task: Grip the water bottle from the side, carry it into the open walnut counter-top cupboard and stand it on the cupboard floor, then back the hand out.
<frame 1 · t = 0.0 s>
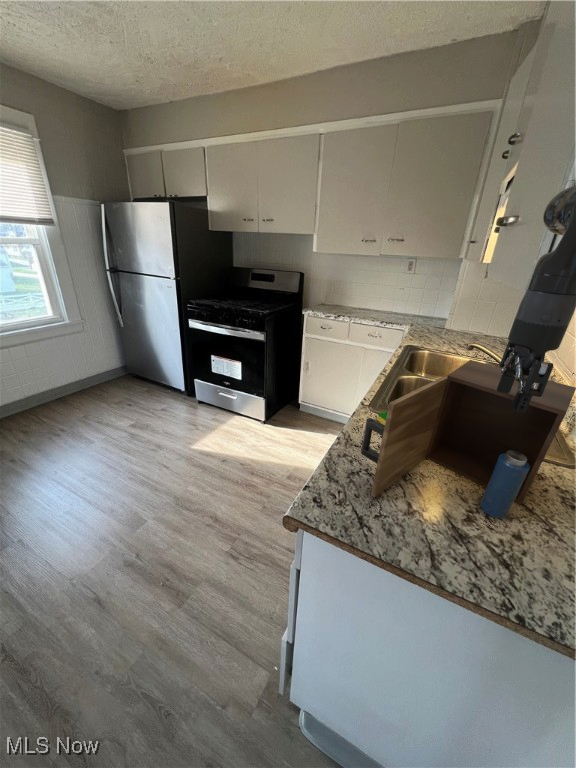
hand: (509, 401, 61), 25 cm above the counter, tool pointing down, fingers open, 8 cm apart
water bottle: (493, 509, 68), on the counter
cupboard: (478, 464, 81), on the counter
dish sponge: (400, 429, 95), on the counter
cupboard door: (398, 429, 73), point 12 cm above the counter, hinge at 95.0°
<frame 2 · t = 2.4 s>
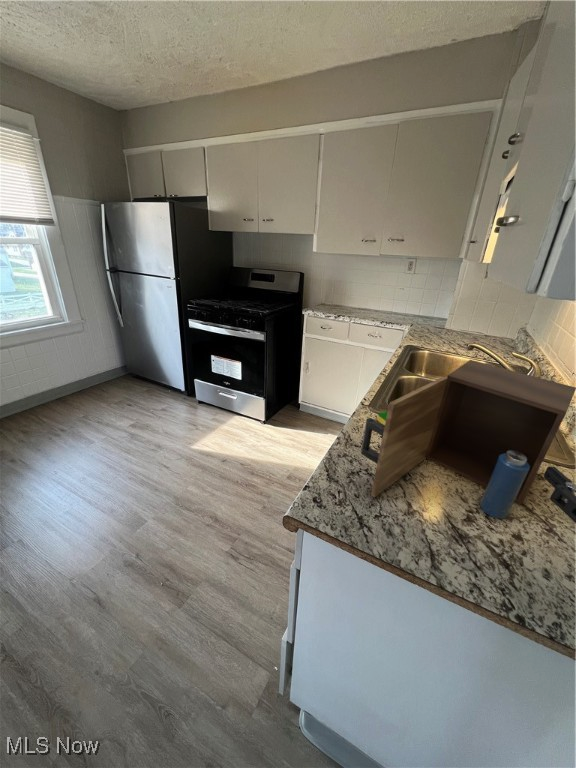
hand: (574, 471, 49), 20 cm above the counter, tool horizontal, fingers open, 8 cm apart
nothing on the counter moved.
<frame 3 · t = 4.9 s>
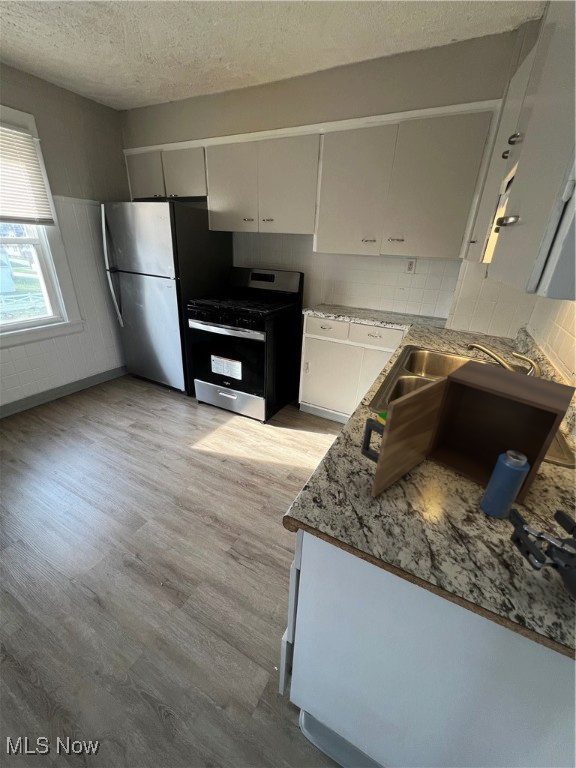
hand: (533, 512, 57), 8 cm above the counter, tool horizontal, fingers open, 8 cm apart
nothing on the counter moved.
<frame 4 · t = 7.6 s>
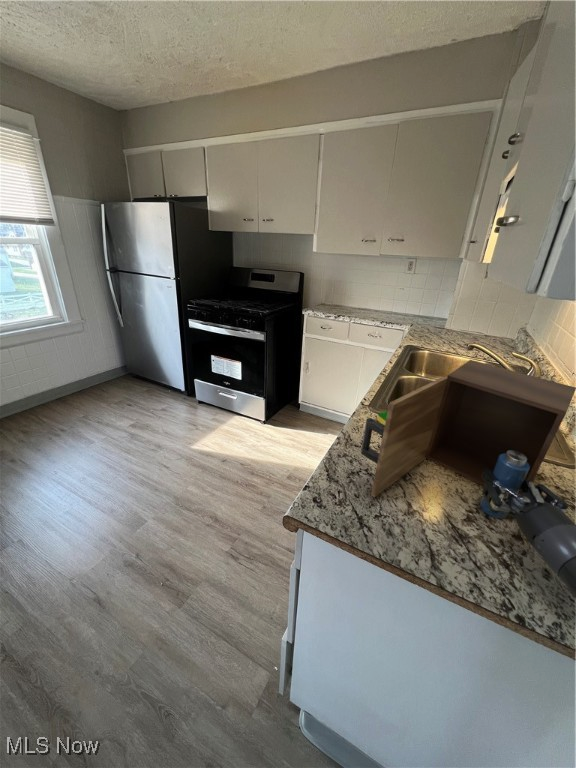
hand: (498, 472, 67), 8 cm above the counter, tool horizontal, fingers closed on water bottle, 5 cm apart
water bottle: (493, 509, 68), on the counter, touching gripper
everything else where it was.
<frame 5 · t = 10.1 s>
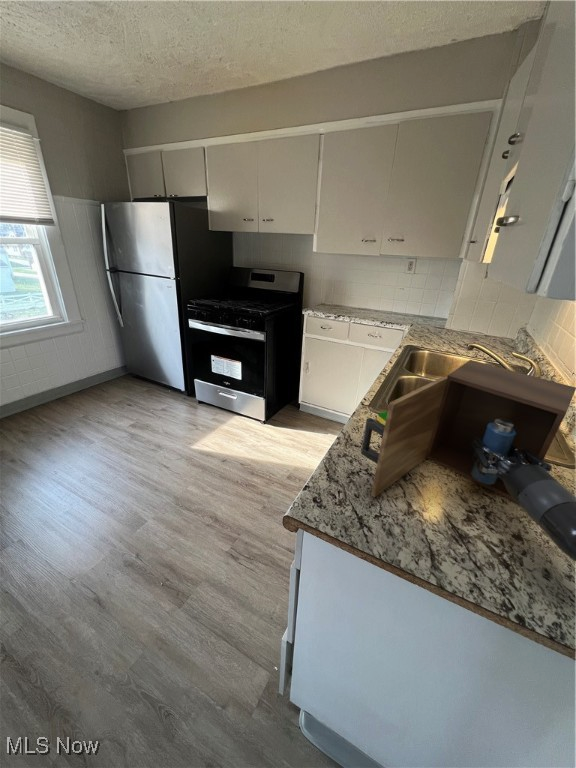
hand: (487, 441, 71), 12 cm above the counter, tool horizontal, fingers closed on water bottle, 5 cm apart
water bottle: (483, 476, 72), point 4 cm above the counter, touching gripper
everything else where it was.
when the fingers open (9 cm above the counter, at t = 12.7 s): water bottle stays where it is, resting on cupboard.
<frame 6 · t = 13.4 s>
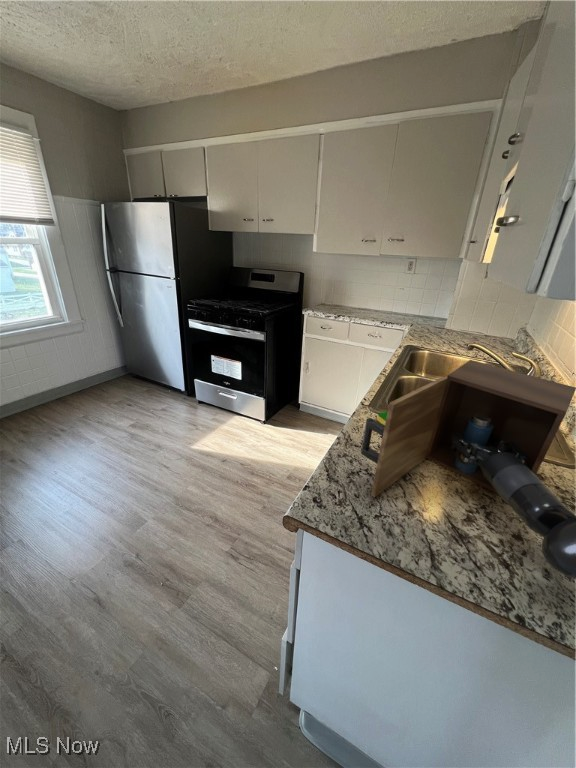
hand: (470, 434, 77), 9 cm above the counter, tool horizontal, fingers open, 8 cm apart
water bottle: (465, 466, 79), point 1 cm above the counter, touching cupboard
everything else where it was.
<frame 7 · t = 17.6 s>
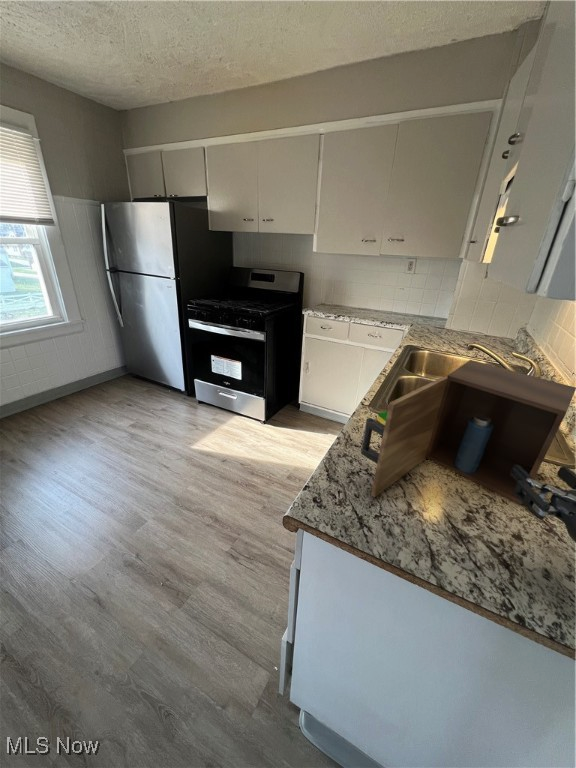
hand: (537, 469, 57), 15 cm above the counter, tool horizontal, fingers open, 8 cm apart
nothing on the counter moved.
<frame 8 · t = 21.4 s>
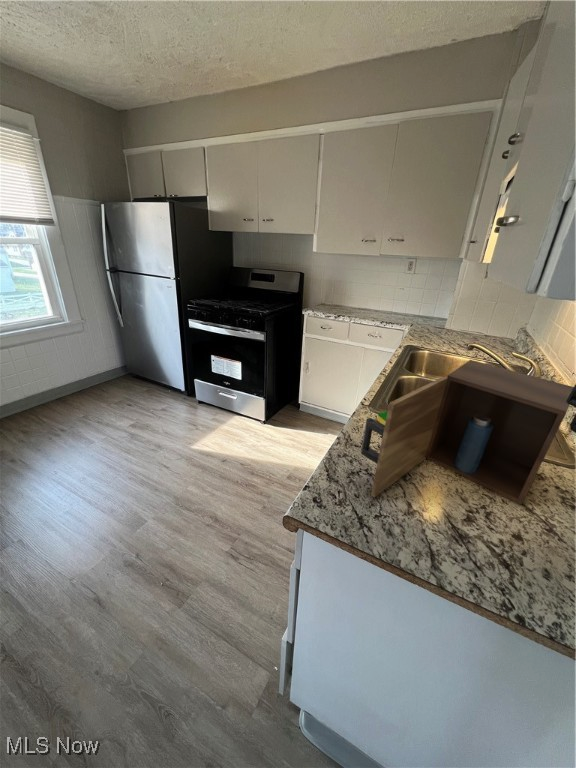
nothing on the counter moved.
at the end: water bottle inside the target area in the cupboard (5.4 cm from its centre), point 1.0 cm above the cupboard's base; water bottle tilted 0°; the gripper is holding nothing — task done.
